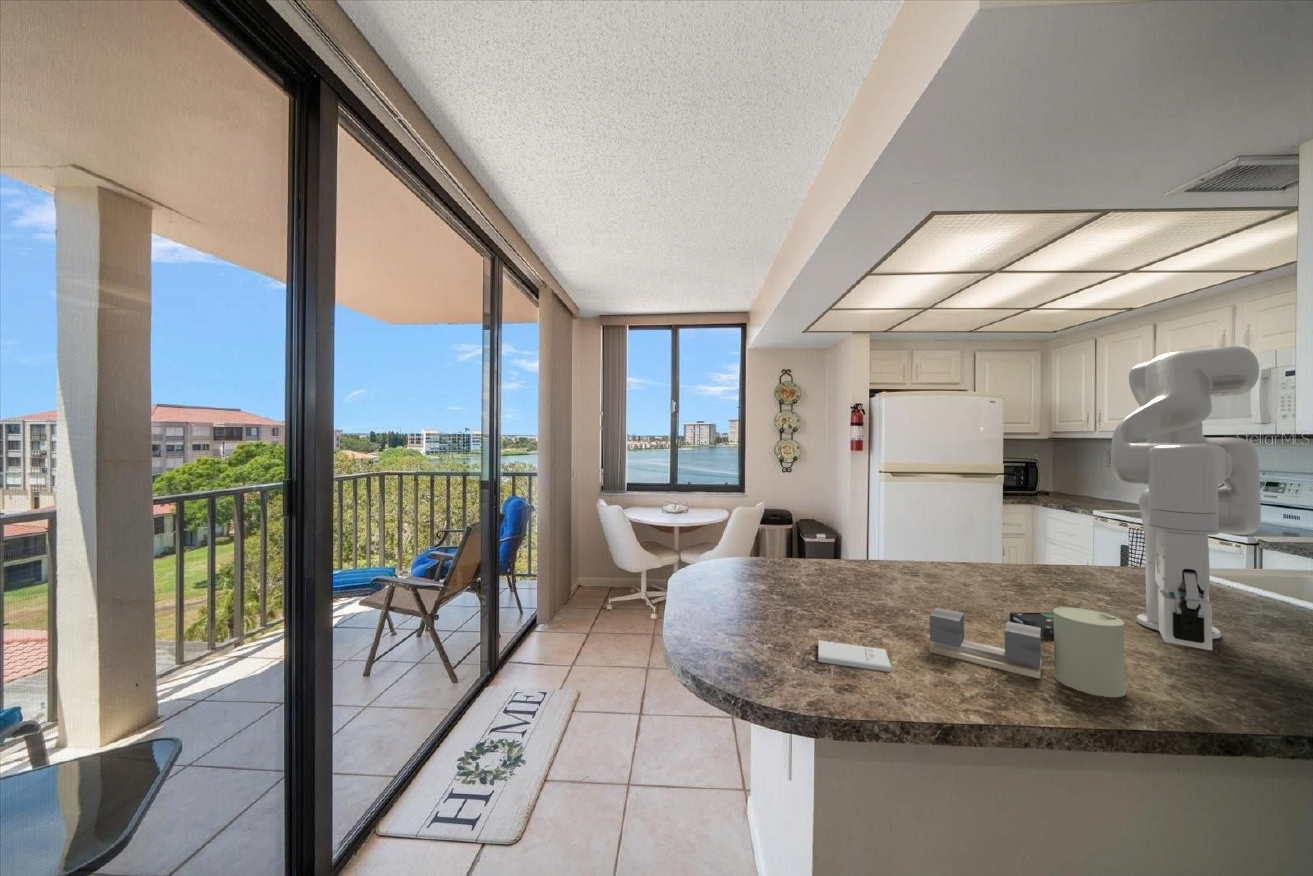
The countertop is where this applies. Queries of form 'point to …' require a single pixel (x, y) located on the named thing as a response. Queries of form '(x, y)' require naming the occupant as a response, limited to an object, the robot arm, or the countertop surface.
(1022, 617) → the disk drive
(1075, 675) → the can
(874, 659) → the external hard drive
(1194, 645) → the block
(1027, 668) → the board
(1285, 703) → the countertop surface
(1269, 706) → the countertop surface
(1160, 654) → the countertop surface
